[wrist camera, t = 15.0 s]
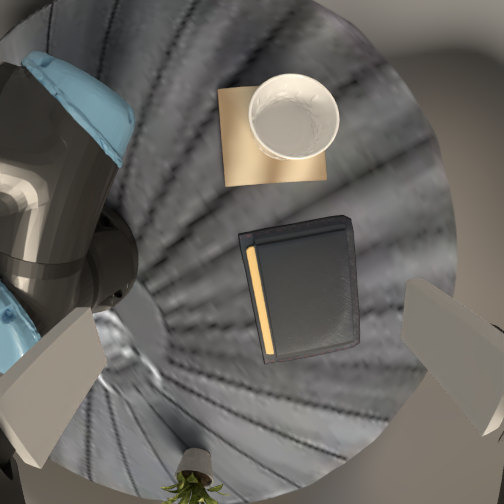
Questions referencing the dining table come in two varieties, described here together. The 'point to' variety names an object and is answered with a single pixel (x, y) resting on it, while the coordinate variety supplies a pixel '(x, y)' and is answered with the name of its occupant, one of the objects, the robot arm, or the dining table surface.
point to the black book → (303, 287)
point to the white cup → (292, 117)
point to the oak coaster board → (248, 154)
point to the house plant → (194, 478)
